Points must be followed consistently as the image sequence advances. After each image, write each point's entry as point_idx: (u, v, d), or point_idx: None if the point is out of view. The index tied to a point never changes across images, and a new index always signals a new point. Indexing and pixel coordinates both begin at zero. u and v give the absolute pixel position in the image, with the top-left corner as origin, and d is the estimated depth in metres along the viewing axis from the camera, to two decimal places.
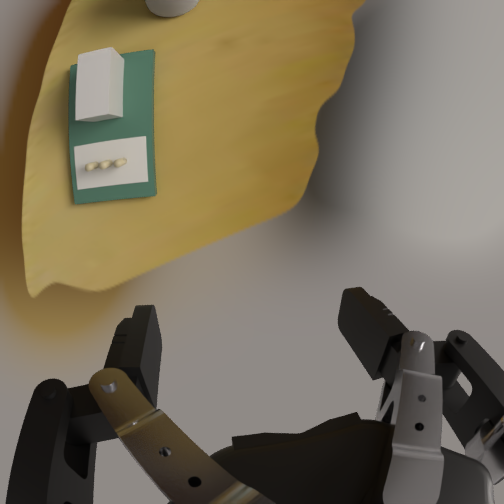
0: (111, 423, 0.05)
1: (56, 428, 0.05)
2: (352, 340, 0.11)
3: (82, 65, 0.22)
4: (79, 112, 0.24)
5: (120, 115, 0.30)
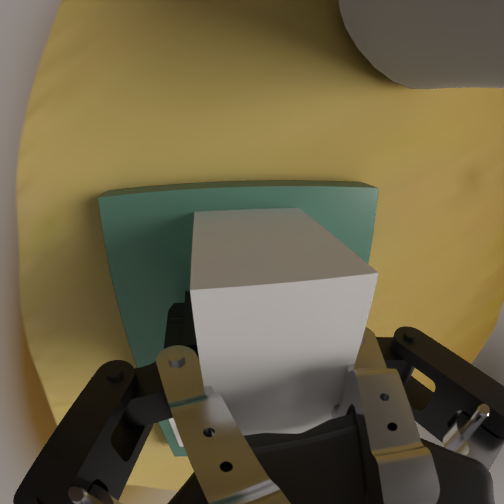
0: (168, 396, 0.06)
1: (111, 410, 0.06)
2: None
3: (227, 347, 0.06)
4: None
5: None
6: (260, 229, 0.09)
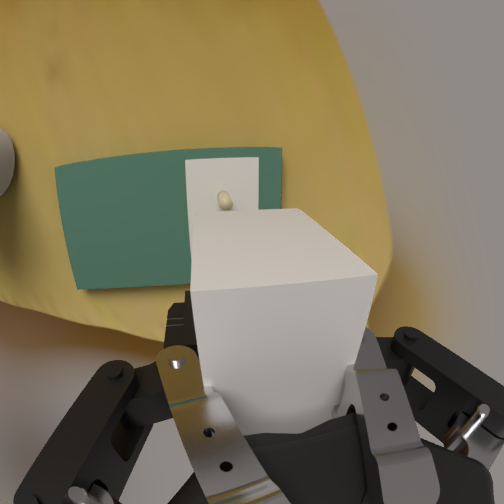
0: (167, 396, 0.06)
1: (111, 410, 0.06)
2: None
3: (227, 348, 0.06)
4: None
5: None
6: (260, 230, 0.09)
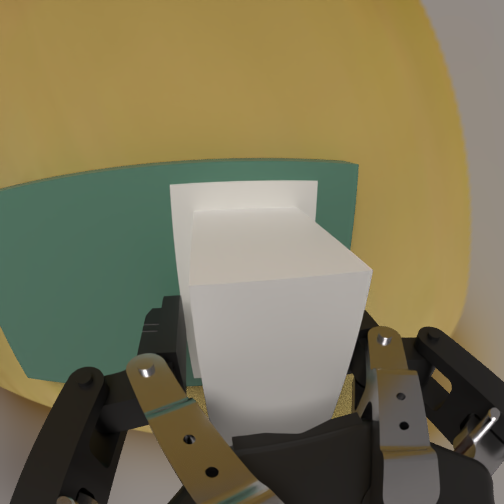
0: (142, 406, 0.06)
1: (86, 416, 0.05)
2: None
3: (225, 342, 0.06)
4: None
5: None
6: (258, 228, 0.09)
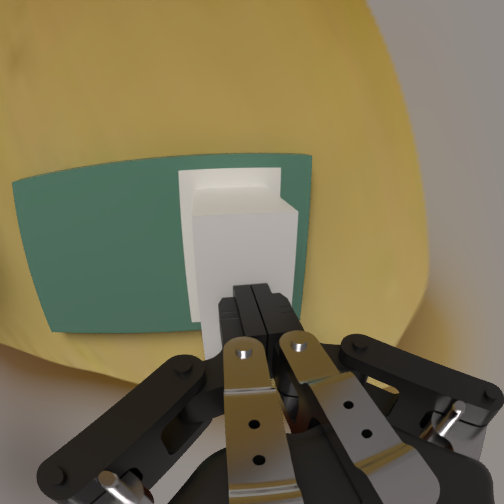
0: (225, 383, 0.07)
1: (170, 404, 0.06)
2: None
3: (211, 253, 0.11)
4: None
5: None
6: (235, 195, 0.14)
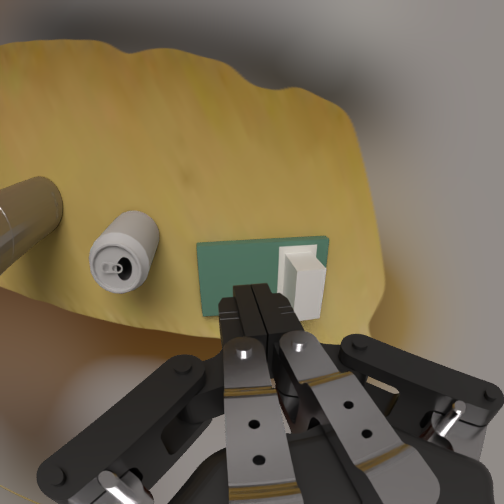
0: (225, 383, 0.07)
1: (170, 404, 0.06)
2: None
3: (301, 281, 0.38)
4: None
5: None
6: (303, 259, 0.41)
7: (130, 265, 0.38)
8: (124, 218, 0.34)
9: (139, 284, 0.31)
